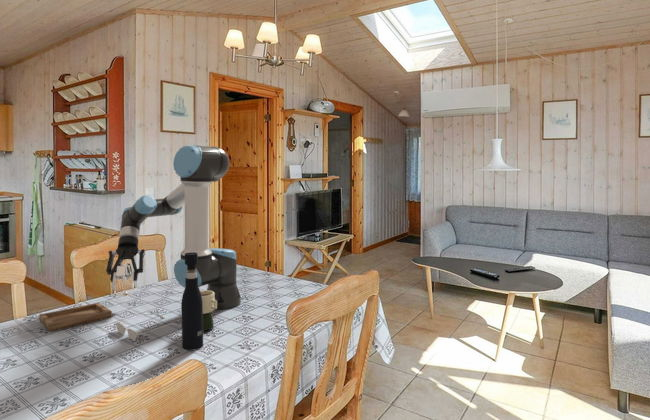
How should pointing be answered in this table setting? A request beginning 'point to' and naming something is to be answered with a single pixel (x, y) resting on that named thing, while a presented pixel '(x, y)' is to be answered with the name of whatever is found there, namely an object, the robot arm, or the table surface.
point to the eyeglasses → (131, 333)
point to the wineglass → (124, 275)
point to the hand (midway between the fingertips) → (122, 288)
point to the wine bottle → (192, 307)
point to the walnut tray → (74, 316)
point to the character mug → (208, 308)
